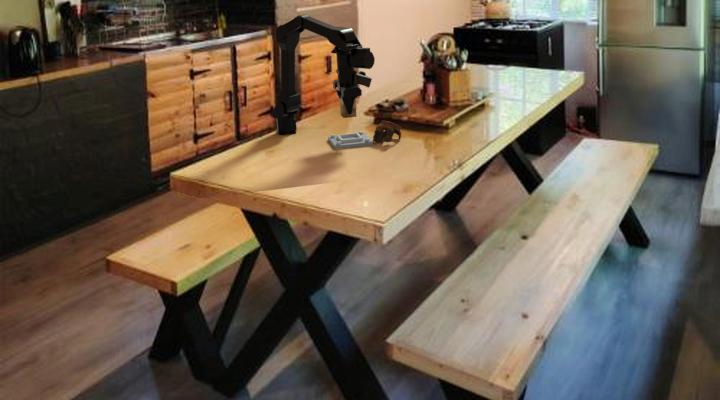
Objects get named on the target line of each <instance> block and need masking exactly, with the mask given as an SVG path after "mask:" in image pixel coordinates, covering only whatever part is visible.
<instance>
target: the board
mask: <svg viewBox="0 0 720 400" xmlns="http://www.w3.org/2000/svg"><path fill="white" fill-rule="evenodd" d="M327 140H328V142H329V143H330V144H331V146H332V147H333V148H334V149H335V150H342V149H351V148H359V147H360V148H361V147H369V146H374V144H373V143H374V142H373V140H372V139H371V138H369V136H368V135H366V133H365V132H363V131H358V132H352V133H341V134H337V135H336V134H334V133H333V134H330V136H327Z"/></svg>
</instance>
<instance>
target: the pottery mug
mask: <svg viewBox="0 0 720 400" xmlns="http://www.w3.org/2000/svg"><path fill="white" fill-rule="evenodd" d="M401 129H402V127H401V126H400V125H398V124H396V123H394V122H391V121H389V120H388V121H387V120H384V119H383V120H381V122H380V123H379V124H377V125H376V127H375V130H374V134H373V136H372V142H373V143H377V144H379V145H383V144H384V142H386V143H391V142H392V140H393V136H394V134H396V136H398V140H401V139H402V131H401Z"/></svg>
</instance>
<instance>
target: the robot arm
mask: <svg viewBox="0 0 720 400" xmlns="http://www.w3.org/2000/svg"><path fill="white" fill-rule="evenodd" d="M306 30H307V31H308V32H310V33H313V34H316V35H318V36H320V37H323V38H325V39H326V40H328V42H329V43H330V44H331V45H333V47H334V48H333V49H332V50H331V52H330V53H331V54H336V56H335V57H336V67H337V68H336V69H335V73H336V74H337V79H334V80H333V81H332V88H333V89H334V90H335V93H336V95H337V97H338V100H340V98H342V101H343V103H344V105H345V108H346V110H347V112H348V114H352V109H353V104H354V100H355V99H357V98H358V97H362V96H363V91H362V89H361V88H360V87H358V85H360V86H364V87H366V88H370V87H371V83H372V80H373V79H372V77H370V76H368V75H367V74H366V72H365V71H362V70H360V71H359V72H357V70H356V69H364V70H365V69H366V70H370V69H372V68H373V67H374V65H375V56H374V54H373V52H372V51H371V48H370V47H364V46H363V45H362V43H361V42H360V40H359V39H358V37H357V35H356V33H355V30H353V29H352V27H351V28H350V27H345V26H334V25H332V24H329V23H327V22H324V21H322V20H319V19H317V18H314V17H312V16H310V15H308V14H307V13H305V14H300V15H297V16H295V17H294V18H292V19H291V20H289V21H288V22H286V23H284V24H280V25H278V26H277V27H276V29H275V39H276V43H277V45H278V47H279V48H280V85H281V86H280V90H279V92H278V94H277V97H276V103H275V106H274V108H273V109H272V110H271V111H270V114H271V117H272V119H275V120H276V132H277V134H278V136H283V135H291V134H297V129H298V128H297V119H296V118H295V115H298V113H299V109H300V106H301V105H302V102H301V97H302V96H301V95H302V94H301V93H298V92H297V90H296V48H297V47H298V44H299V43H300V39H301V38H300V36H301V33H302V34H303V32H304V31H306Z"/></svg>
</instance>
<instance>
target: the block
mask: <svg viewBox="0 0 720 400" xmlns="http://www.w3.org/2000/svg"><path fill="white" fill-rule="evenodd" d="M356 100H357V98H355V100H354V104H353V109H352V114H348V112H347V110H346V108H345V105H344V103H343V101H342V98H340V99H339V107H340V116H341V117H342V119H347V118H356V117H357V104H356V103H357V101H356Z"/></svg>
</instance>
